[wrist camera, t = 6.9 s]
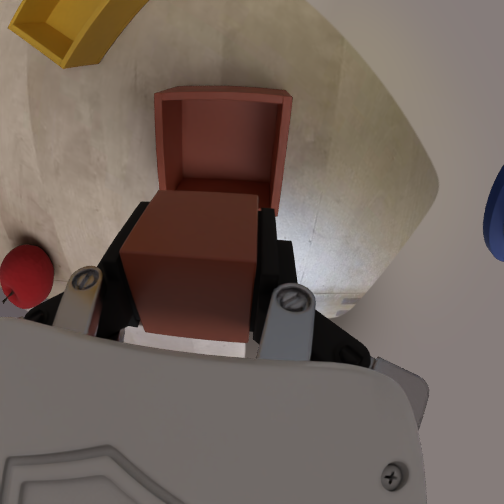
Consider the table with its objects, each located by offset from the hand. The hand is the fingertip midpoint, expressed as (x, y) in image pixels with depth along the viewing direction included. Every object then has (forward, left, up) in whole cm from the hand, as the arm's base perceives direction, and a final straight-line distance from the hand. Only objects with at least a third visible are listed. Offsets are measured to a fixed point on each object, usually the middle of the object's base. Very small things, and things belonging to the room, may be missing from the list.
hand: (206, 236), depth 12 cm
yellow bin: (+14, -15, -15) cm, 25 cm away
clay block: (0, 0, 0) cm, 0 cm away
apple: (+30, +17, -15) cm, 37 cm away
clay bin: (+1, 0, -15) cm, 15 cm away
